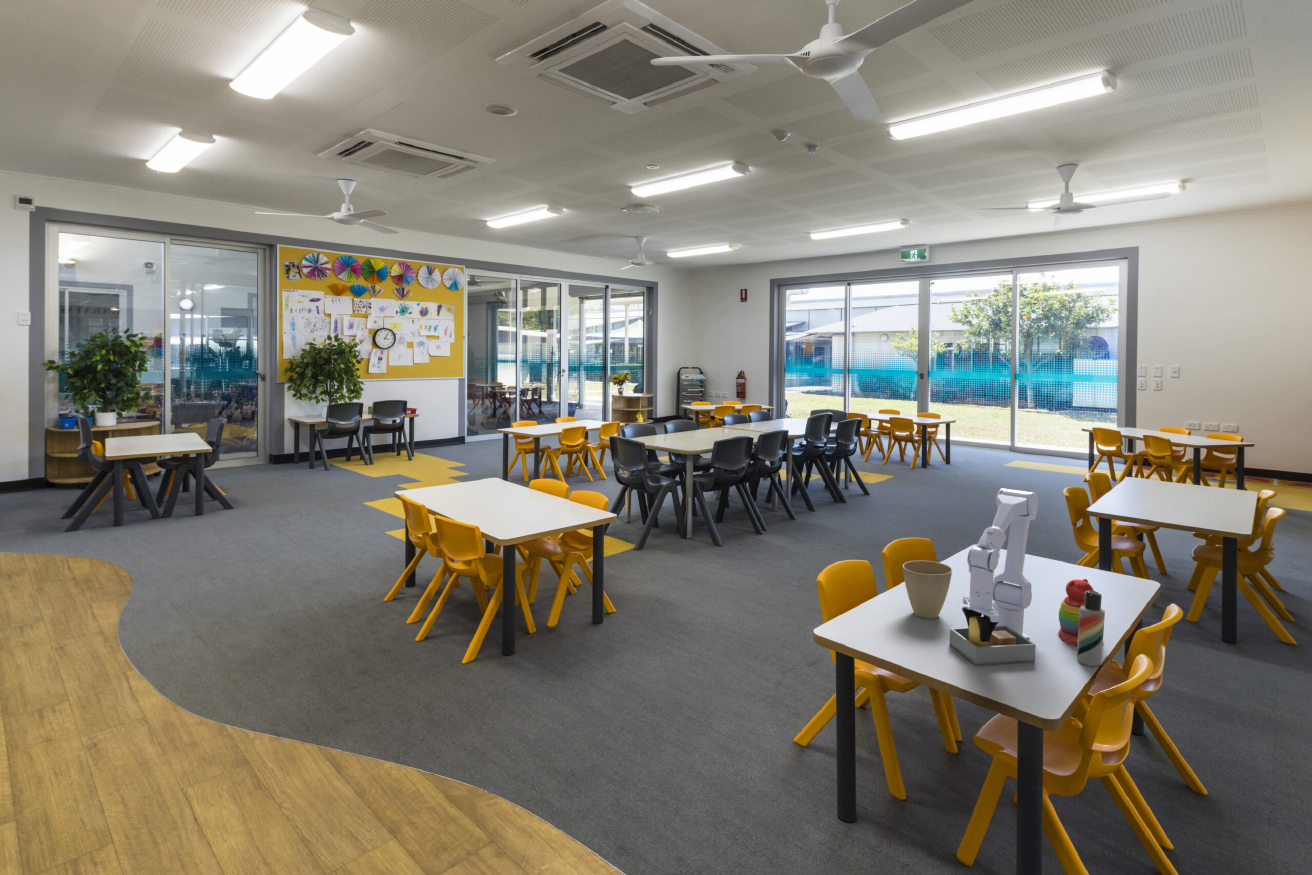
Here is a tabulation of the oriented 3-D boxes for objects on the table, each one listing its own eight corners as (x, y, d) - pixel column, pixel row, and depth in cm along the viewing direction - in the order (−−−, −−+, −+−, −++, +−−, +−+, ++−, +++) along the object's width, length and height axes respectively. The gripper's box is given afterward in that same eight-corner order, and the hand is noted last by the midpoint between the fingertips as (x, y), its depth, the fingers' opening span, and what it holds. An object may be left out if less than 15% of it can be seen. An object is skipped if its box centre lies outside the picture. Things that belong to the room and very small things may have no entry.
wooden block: (1004, 647, 191) (1004, 630, 190) (1015, 654, 186) (1015, 637, 185) (987, 647, 191) (988, 631, 190) (998, 655, 186) (998, 638, 185)
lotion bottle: (1073, 656, 186) (1078, 587, 184) (1097, 658, 184) (1101, 589, 182) (1080, 665, 180) (1084, 594, 178) (1104, 668, 179) (1109, 596, 176)
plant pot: (920, 602, 227) (922, 557, 226) (960, 616, 215) (962, 569, 213) (891, 611, 220) (892, 565, 218) (930, 627, 207) (932, 577, 205)
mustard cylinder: (980, 639, 190) (981, 615, 189) (992, 646, 185) (993, 622, 184) (964, 640, 189) (965, 616, 189) (975, 648, 184) (976, 623, 184)
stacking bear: (1073, 646, 192) (1077, 587, 190) (1047, 632, 202) (1051, 575, 200) (1106, 643, 194) (1110, 584, 192) (1079, 630, 204) (1083, 573, 202)
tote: (975, 665, 181) (975, 647, 181) (949, 644, 194) (950, 628, 194) (1034, 661, 183) (1035, 644, 182) (1005, 641, 196) (1006, 625, 195)
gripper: (953, 582, 192) (951, 627, 194) (982, 600, 178) (980, 648, 179) (976, 581, 193) (974, 626, 195) (1007, 598, 179) (1005, 647, 180)
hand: (979, 637), depth 187 cm, fingers closed on mustard cylinder, 5 cm apart
